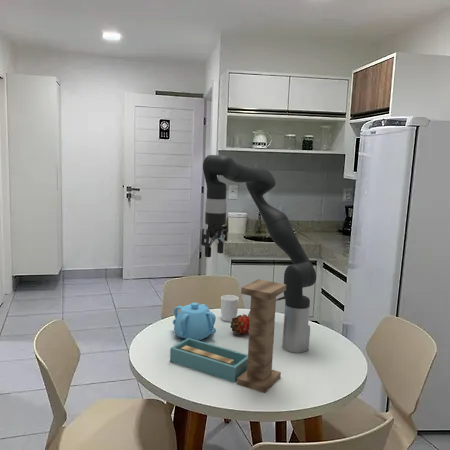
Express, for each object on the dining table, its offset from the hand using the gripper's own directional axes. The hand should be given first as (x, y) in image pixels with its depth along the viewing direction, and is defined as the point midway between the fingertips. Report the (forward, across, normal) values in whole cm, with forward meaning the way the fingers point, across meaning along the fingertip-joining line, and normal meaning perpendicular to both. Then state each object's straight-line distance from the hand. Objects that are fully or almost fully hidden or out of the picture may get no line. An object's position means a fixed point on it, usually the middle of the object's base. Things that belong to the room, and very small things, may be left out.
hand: (214, 255), depth 164 cm
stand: (+36, -12, -26) cm, 46 cm away
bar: (+35, -12, -6) cm, 38 cm away
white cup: (+36, +31, +10) cm, 49 cm away
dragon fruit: (+36, +20, -2) cm, 42 cm away
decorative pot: (+36, +6, +12) cm, 39 cm away
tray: (+36, -12, -7) cm, 39 cm away
